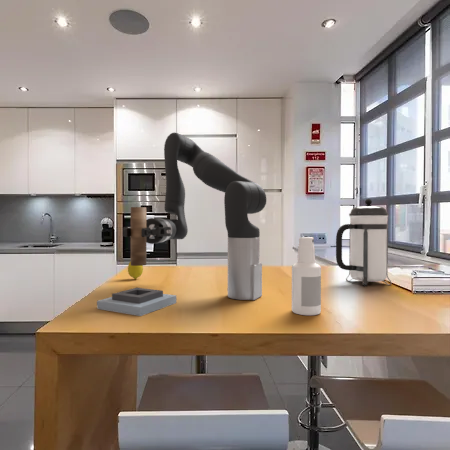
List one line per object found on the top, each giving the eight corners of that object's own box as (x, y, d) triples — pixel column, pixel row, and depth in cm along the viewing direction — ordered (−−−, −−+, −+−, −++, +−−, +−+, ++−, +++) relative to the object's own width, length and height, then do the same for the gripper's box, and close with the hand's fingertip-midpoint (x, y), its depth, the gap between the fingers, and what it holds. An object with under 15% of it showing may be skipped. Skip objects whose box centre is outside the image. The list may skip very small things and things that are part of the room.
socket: (176, 302, 89) (176, 289, 89) (140, 316, 76) (140, 300, 76) (136, 297, 95) (136, 285, 95) (97, 308, 82) (97, 294, 82)
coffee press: (349, 277, 129) (349, 200, 129) (394, 282, 120) (395, 199, 119) (335, 284, 115) (335, 198, 115) (385, 290, 105) (386, 196, 105)
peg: (149, 264, 88) (149, 207, 87) (139, 266, 84) (139, 207, 84) (138, 263, 89) (138, 207, 89) (127, 265, 86) (127, 207, 86)
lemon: (139, 280, 122) (138, 259, 122) (125, 280, 123) (125, 258, 123) (145, 278, 127) (145, 257, 127) (132, 277, 128) (132, 257, 128)
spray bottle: (315, 317, 75) (316, 238, 75) (287, 313, 79) (287, 237, 79) (324, 310, 81) (324, 237, 81) (297, 306, 85) (297, 236, 84)
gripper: (134, 218, 102) (107, 217, 85) (179, 218, 100) (161, 217, 83) (134, 242, 102) (107, 247, 85) (179, 243, 100) (161, 247, 83)
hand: (134, 232), depth 84 cm, fingers closed on peg, 4 cm apart
